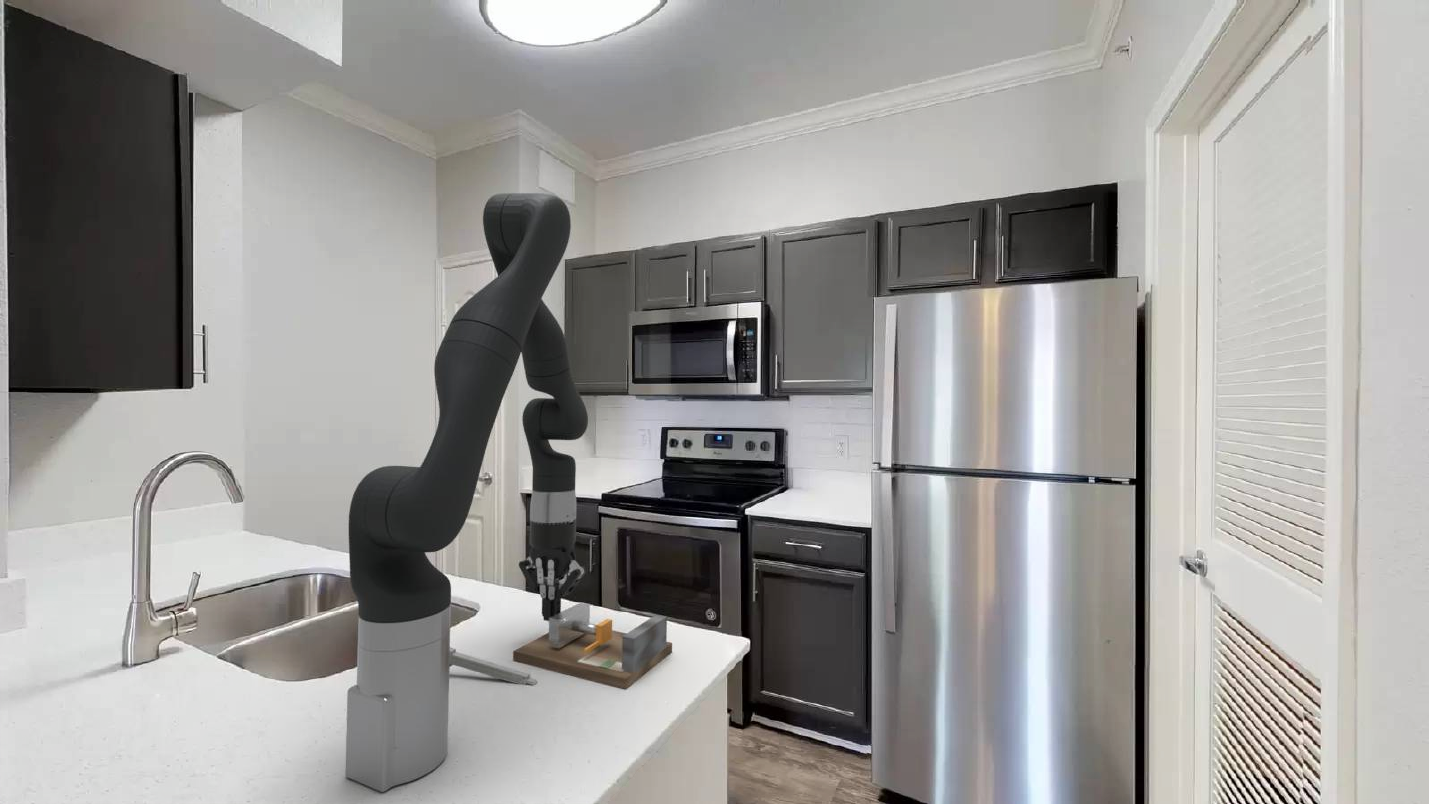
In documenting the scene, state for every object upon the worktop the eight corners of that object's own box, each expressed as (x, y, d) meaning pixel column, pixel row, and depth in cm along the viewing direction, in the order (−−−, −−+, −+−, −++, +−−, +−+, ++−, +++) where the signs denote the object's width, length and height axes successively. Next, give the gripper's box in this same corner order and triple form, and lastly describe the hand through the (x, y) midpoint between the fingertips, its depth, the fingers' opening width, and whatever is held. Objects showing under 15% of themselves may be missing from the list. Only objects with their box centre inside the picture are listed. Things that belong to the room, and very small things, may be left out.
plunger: (584, 654, 88) (585, 625, 88) (548, 646, 91) (549, 617, 91) (613, 636, 96) (614, 609, 96) (579, 628, 99) (580, 602, 99)
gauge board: (625, 689, 82) (626, 643, 82) (513, 660, 90) (513, 619, 90) (671, 651, 95) (672, 612, 95) (569, 629, 103) (570, 593, 103)
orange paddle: (587, 654, 87) (587, 634, 87) (582, 652, 87) (582, 632, 87) (611, 638, 93) (612, 619, 93) (606, 637, 93) (607, 618, 93)
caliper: (406, 675, 86) (407, 633, 86) (411, 671, 87) (412, 630, 87) (534, 687, 82) (535, 643, 83) (537, 683, 84) (538, 640, 84)
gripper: (506, 516, 95) (504, 620, 95) (571, 524, 90) (569, 634, 90) (537, 509, 102) (535, 606, 102) (599, 516, 97) (597, 618, 97)
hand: (551, 619), depth 96 cm, fingers closed
